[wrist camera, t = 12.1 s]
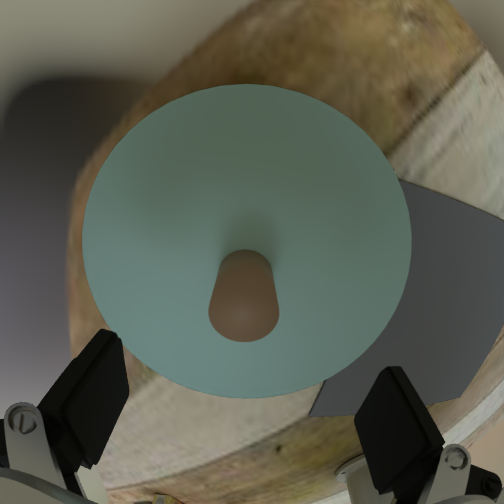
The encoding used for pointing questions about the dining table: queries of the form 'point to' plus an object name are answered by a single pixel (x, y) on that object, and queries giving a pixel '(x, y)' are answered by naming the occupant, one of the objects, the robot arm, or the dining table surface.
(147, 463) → the dining table surface
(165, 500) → the candy box
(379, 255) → the lid
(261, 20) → the dining table surface
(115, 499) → the dining table surface
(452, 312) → the mat
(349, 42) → the dining table surface
